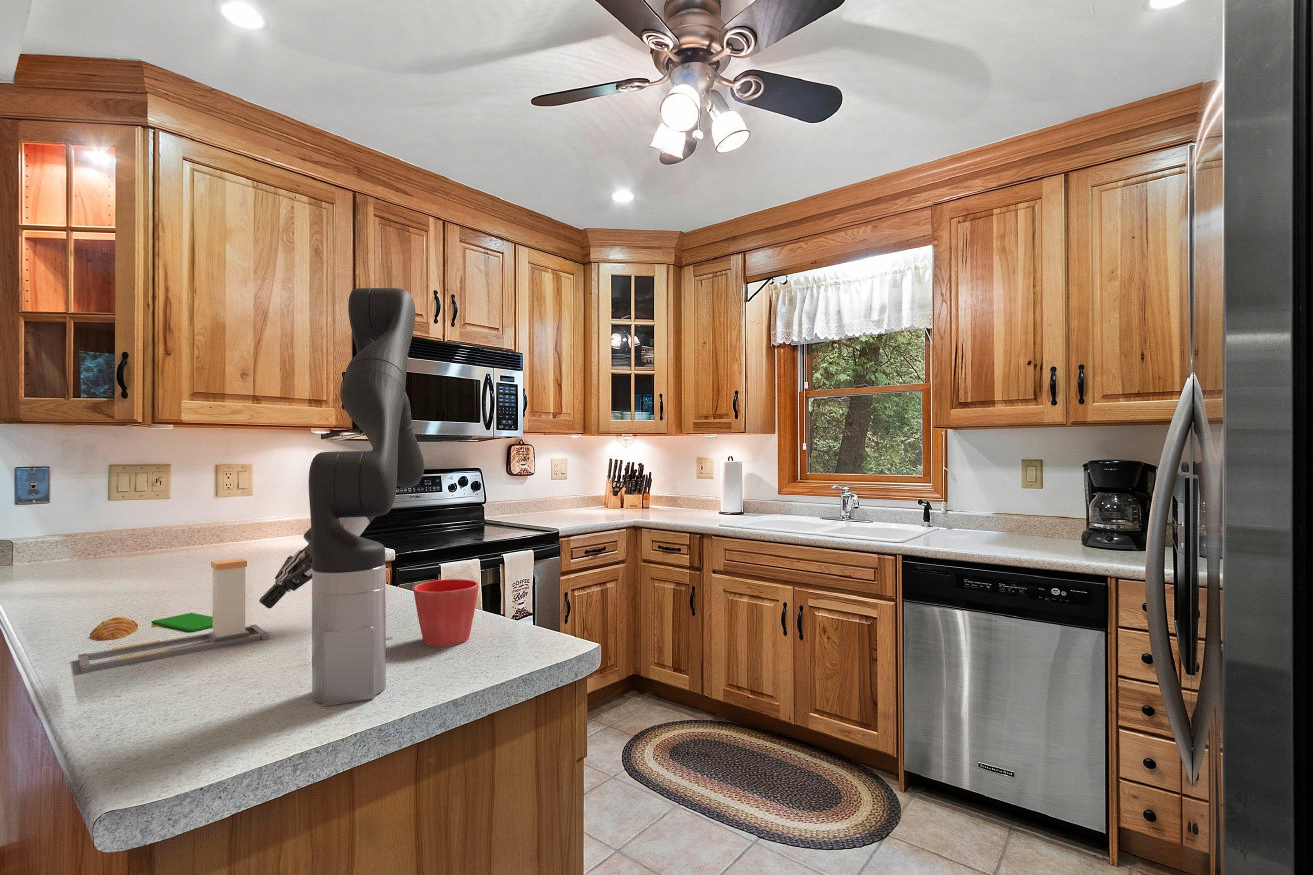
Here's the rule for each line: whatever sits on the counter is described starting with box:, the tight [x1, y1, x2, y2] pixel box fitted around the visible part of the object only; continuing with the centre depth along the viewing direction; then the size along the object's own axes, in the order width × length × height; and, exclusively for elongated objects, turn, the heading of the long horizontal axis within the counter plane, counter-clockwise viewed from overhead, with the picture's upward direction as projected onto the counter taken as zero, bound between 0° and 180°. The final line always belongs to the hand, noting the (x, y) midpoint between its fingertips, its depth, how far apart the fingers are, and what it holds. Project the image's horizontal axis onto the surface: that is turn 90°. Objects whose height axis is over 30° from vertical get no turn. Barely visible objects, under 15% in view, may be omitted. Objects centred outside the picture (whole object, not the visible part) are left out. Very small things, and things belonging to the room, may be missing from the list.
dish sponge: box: [150, 612, 213, 633], centre depth 121 cm, size 7×14×2 cm, turn 63°
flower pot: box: [413, 578, 480, 647], centre depth 114 cm, size 11×11×10 cm
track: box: [77, 624, 270, 675], centre depth 105 cm, size 24×9×2 cm, turn 134°
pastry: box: [89, 616, 139, 642], centre depth 115 cm, size 9×7×4 cm
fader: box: [208, 557, 250, 643], centre depth 110 cm, size 5×5×13 cm
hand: (264, 605), depth 114 cm, fingers closed
